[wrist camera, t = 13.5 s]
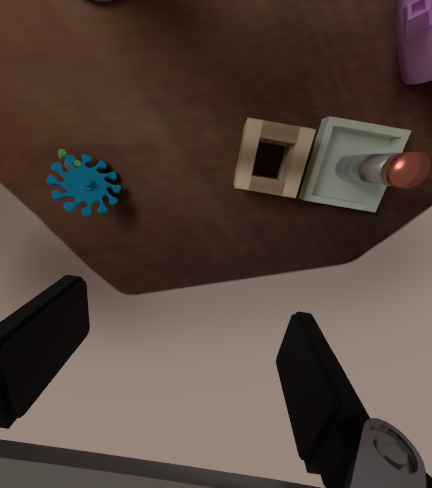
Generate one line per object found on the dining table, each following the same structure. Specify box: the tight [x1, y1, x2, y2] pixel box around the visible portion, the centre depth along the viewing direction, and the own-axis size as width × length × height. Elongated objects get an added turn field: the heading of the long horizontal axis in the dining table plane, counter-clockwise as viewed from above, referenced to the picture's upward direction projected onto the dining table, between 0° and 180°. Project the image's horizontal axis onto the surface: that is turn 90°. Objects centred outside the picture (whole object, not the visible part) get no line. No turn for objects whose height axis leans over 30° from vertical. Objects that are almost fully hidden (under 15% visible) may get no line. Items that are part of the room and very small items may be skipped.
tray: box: [299, 116, 411, 212], centre depth 34 cm, size 12×12×2 cm
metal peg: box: [335, 152, 431, 188], centre depth 28 cm, size 4×4×13 cm
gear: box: [46, 149, 121, 216], centre depth 36 cm, size 11×6×10 cm
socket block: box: [234, 118, 316, 198], centre depth 32 cm, size 9×9×6 cm
